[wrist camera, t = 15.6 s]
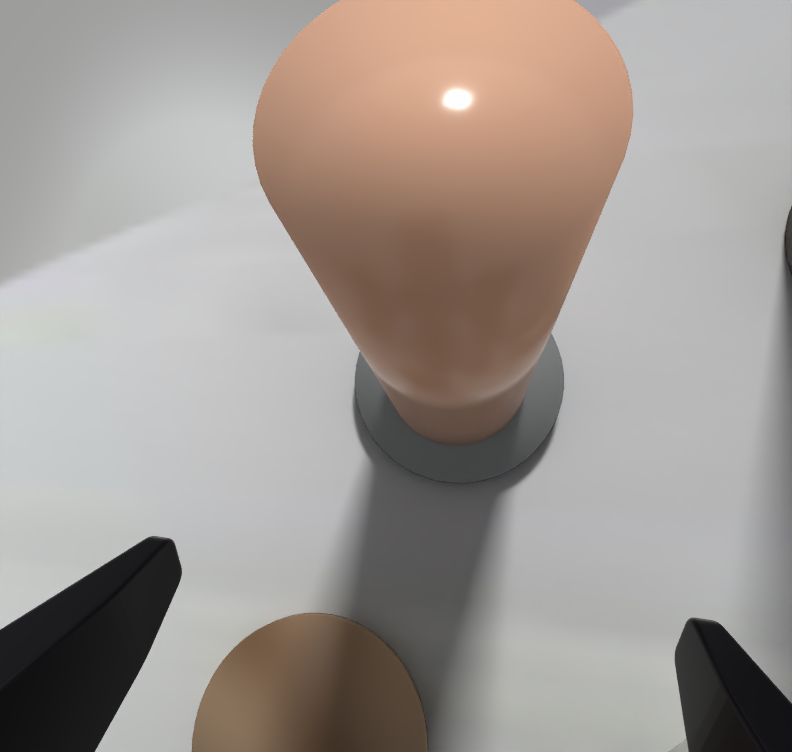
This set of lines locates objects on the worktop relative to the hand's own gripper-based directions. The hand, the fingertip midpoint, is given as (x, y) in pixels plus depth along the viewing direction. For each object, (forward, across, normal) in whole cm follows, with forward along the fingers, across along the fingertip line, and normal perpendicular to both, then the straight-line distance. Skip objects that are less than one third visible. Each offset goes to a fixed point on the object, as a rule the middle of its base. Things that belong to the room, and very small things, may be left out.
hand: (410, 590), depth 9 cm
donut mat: (+2, +4, +11) cm, 12 cm away
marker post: (+11, 0, +2) cm, 11 cm away
